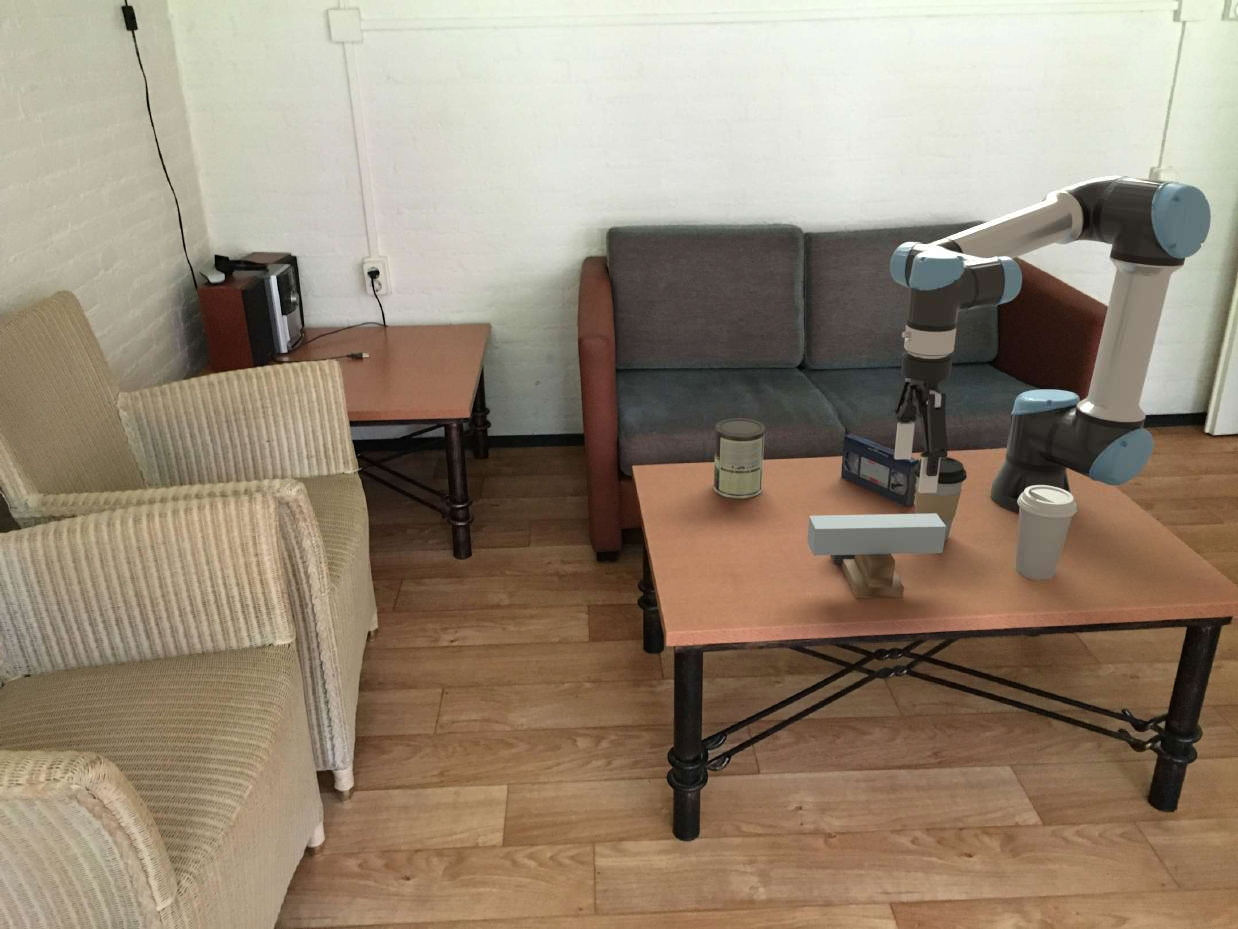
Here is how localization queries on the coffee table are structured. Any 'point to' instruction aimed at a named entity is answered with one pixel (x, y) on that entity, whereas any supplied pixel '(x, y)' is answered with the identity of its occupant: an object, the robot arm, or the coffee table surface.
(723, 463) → the coffee can
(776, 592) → the coffee table surface
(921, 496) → the coffee cup
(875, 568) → the fulcrum
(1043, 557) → the coffee cup
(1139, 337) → the robot arm
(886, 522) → the beam
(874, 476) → the vhs cassette tape
